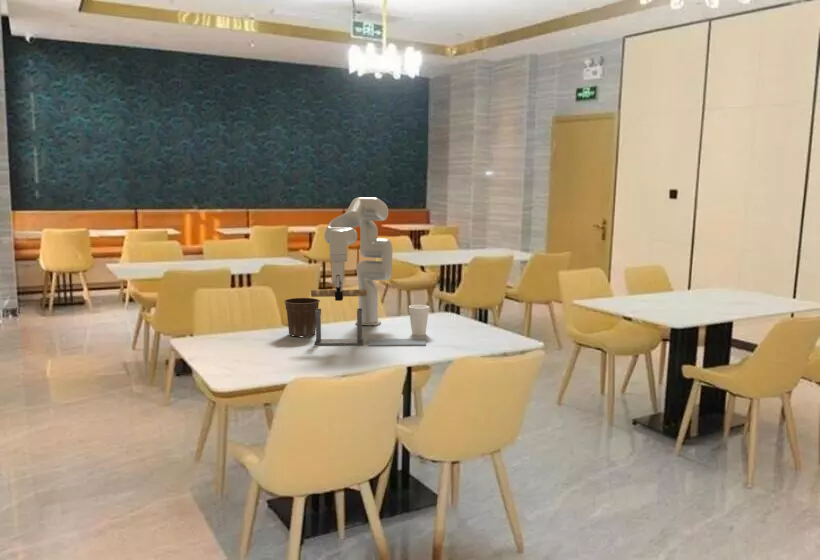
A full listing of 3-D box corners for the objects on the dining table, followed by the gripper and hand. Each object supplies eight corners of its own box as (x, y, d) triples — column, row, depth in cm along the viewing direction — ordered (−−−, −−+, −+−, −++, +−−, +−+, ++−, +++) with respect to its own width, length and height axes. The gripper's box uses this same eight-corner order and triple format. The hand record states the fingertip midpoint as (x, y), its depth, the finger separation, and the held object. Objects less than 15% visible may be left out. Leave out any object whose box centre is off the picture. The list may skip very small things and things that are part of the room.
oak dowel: (311, 297, 310) (310, 290, 310) (311, 296, 313) (311, 289, 312) (366, 296, 311) (366, 290, 310) (366, 295, 314) (366, 288, 313)
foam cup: (428, 336, 329) (428, 308, 327) (408, 336, 329) (408, 308, 327) (428, 331, 338) (428, 304, 336) (409, 331, 339) (409, 304, 337)
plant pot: (311, 329, 343) (310, 296, 340) (326, 335, 329) (325, 301, 327) (279, 333, 334) (278, 299, 332) (293, 340, 321) (292, 304, 318)
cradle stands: (316, 341, 318) (315, 308, 316) (363, 341, 319) (363, 308, 317) (314, 345, 310) (313, 311, 308) (362, 345, 311) (362, 311, 309)
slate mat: (369, 340, 320) (369, 338, 320) (424, 339, 321) (424, 338, 321) (368, 346, 310) (368, 344, 310) (426, 345, 311) (426, 344, 310)
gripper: (331, 255, 317) (331, 296, 320) (328, 260, 301) (329, 303, 304) (347, 255, 317) (348, 296, 320) (346, 260, 301) (346, 303, 304)
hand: (339, 299), depth 312 cm, fingers closed on oak dowel, 3 cm apart
